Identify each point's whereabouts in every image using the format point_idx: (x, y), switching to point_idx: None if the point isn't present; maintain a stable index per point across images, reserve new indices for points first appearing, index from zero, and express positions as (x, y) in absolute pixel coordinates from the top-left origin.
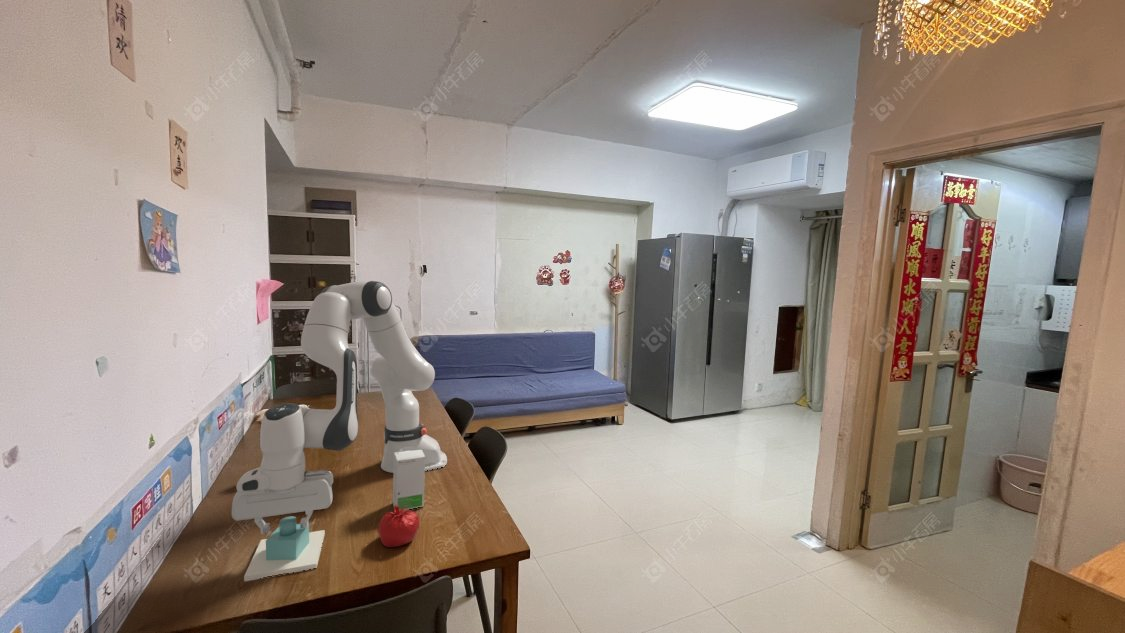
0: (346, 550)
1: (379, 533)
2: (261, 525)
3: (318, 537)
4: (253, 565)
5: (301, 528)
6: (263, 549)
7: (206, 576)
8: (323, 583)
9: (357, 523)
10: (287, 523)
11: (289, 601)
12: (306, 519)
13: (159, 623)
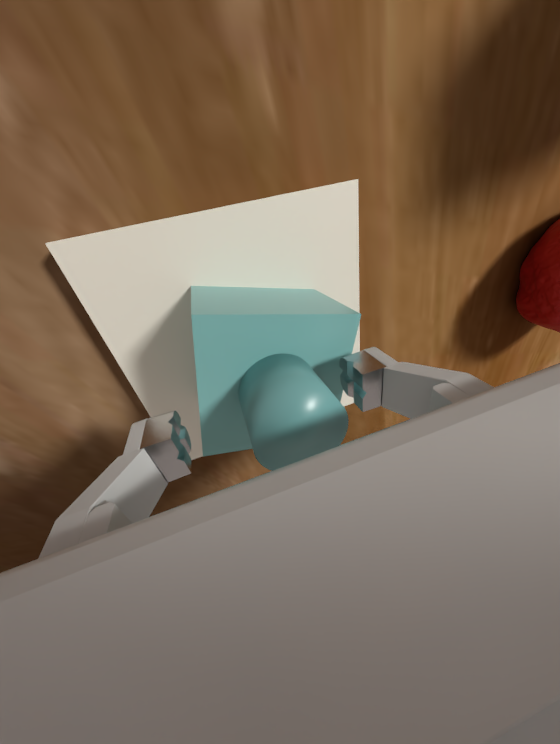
0: (420, 312)
1: (549, 307)
2: (153, 502)
3: (342, 252)
4: None
5: (332, 356)
6: (136, 334)
7: (12, 449)
8: (373, 432)
9: (477, 83)
10: None
11: None
12: (401, 410)
13: None
